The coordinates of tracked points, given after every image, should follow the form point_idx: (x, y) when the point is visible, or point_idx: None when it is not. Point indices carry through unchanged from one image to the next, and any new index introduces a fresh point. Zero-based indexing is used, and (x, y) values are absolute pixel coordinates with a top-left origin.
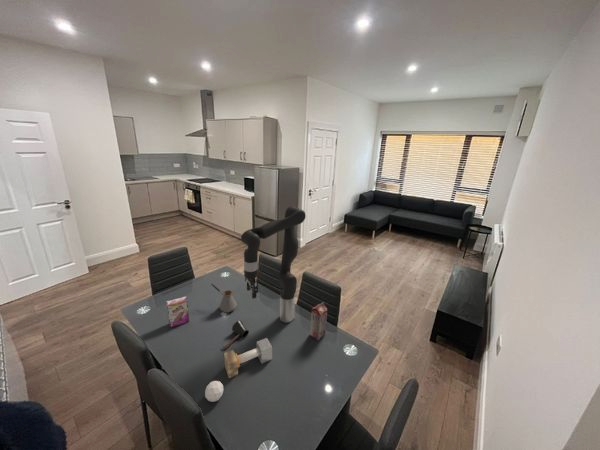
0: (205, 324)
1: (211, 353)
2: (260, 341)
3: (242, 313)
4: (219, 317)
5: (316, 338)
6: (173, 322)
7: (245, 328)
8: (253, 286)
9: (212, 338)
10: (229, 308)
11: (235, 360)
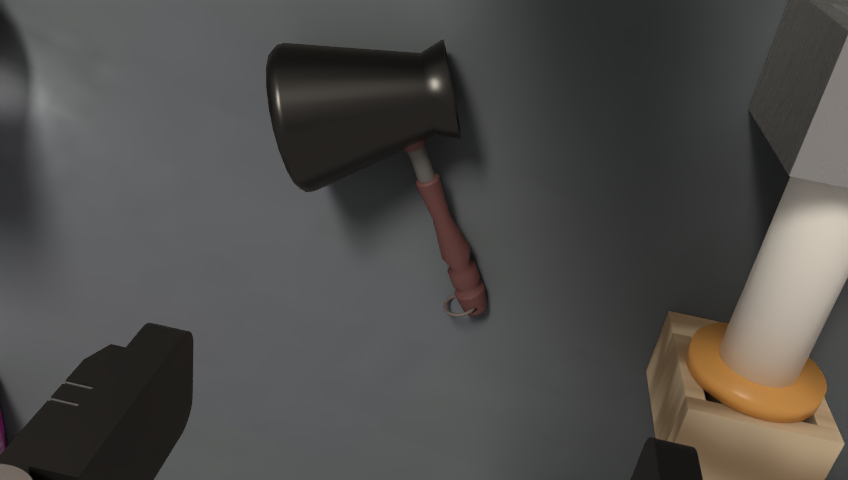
0: (81, 285)
1: (446, 384)
2: (827, 136)
3: None
4: (31, 149)
5: None
6: None
7: (403, 78)
8: None
9: (288, 313)
10: None
11: (825, 453)
